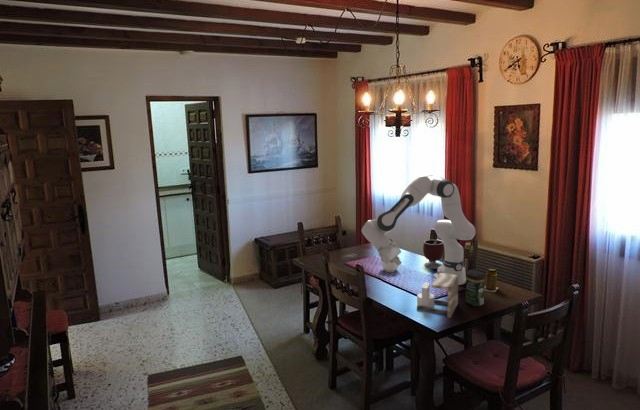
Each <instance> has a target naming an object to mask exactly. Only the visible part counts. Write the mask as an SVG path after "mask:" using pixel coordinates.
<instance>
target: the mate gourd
mask: <svg viewBox="0 0 640 410" xmlns="http://www.w3.org/2000/svg"><path fill="white" fill-rule="evenodd" d="M422 248H423V250H422V251H423V255H424V257H425V258H426V259H427V260H429V261H428V262H425V263H424V264H423V265H424V267H425V268H428V269H438V267H440V266H441V265H442V264H443V263H440V262H437V261H439V260H441V259H442V257H443V256H444V253H445V248H444V244H443V242H442V240H438V239H428V240H427V239H425V240H424V241H423V247H422Z"/></svg>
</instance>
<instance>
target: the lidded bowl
mask: <svg viewBox="0 0 640 410" xmlns="http://www.w3.org/2000/svg"><path fill="white" fill-rule="evenodd" d="M380 265H381V267H382V269H383V270H384V271H385V272H387V273H394V272H396V270H398V268H399V266H398V265H397V264H396V263H394V262H393V261H392V260H391V261H390V262H389V263H388V264H386V263H384V261H383V260H382V259H381V258H380Z"/></svg>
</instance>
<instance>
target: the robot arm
mask: <svg viewBox="0 0 640 410" xmlns="http://www.w3.org/2000/svg"><path fill="white" fill-rule="evenodd" d="M428 194H429V195H432V196H433V197H434V196H435V197H440V200H441V208H442V214H443V215H444V217H446V219H439V220H437V221H436V223H435V224H434V231H435V233H436V234H437V235H438V236H439V238H440V241H442V242H443V245H444V258H443V259H442V261H443V262H442V263H441V264H442V265H441V266H440V267H438V268H437V271H436V273H433V277H434V278H435V279H436V278H437V277H438V275H439V274H440V273H445V274H454V275H458V286H460V285H462V286H463V285H464V284H466V283H467V281H466V273H467V272H466V268H465V261H464V260H465V259H464V248H463V246H462V245H461V244H460V243H459V242H458V241H457V240H460V241H470V240H473V239H474V237H475V235H476V228H475V226H474V224H472V223H471V222H470V221H469V220H468V219H467V218H466V216H465V214H464V213H463V209H462V203H461V201H462V200H461V195H460V192H459V189H458V186H457V185H456V184H455V183H452V181H450V180H449V179H446V178H443V177H441V176H440V177H439V176H434V175H420V176H418V177H416V178H415V179H414V180H413V181H412V182H411V183H410V184H409V185H408V186H407V187H406V188H405V189H404V191H403V192H402V194H401V195H400V198H399V199H398V201H397V202H396V203H395V204H394V205H393V206H392V207H391V208H390V209H389V210H387V211H385V212H382V213H381V214H379V216H378V217H377V218H375V219H368V220H367V221H365V222H364V224H363V225H362V227H361V233H362V235H363V236H364V237H365V239H366V240H367V241H368V242H370V243H371V244H372V246H373V248H374V249H375V250H376V251H377V253H378V256H379V257H380V260H381V259H382V260H383V261H384V263H386V264H388V263H389V262H390V261H391V260H392V261H393V262H394V263H396V264H397V265H398V267H399V266H400V265H401V264H402V261H401V259H400V257H399V255H400V254H402V253H401V252H402V250H401V249H400V247H399V246H398V245H397V244H396V243H395V242H394V239H392V238H390V237H389V238H388V237H387V236H386V235H387V234H389V233H391V232H392V230H393V229H394V228H395V227H396V225H397V221H398V220H399V218H400V217H401V216H402V215H403V214H404V212H406V210H407V209H408V208H409V209H410V208H411V207H415V206H417V205H418V204H419V203H420V202H421V201H423V200H424V199H425V197H426V196H427V195H428Z"/></svg>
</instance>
